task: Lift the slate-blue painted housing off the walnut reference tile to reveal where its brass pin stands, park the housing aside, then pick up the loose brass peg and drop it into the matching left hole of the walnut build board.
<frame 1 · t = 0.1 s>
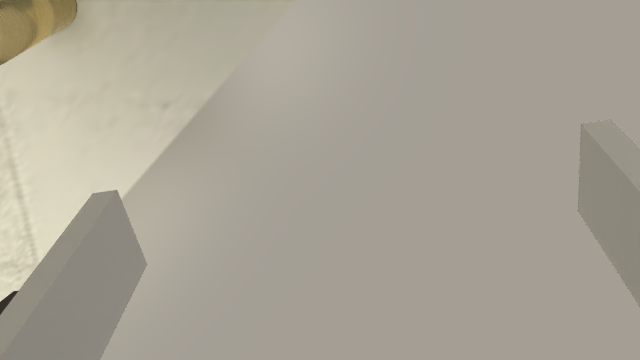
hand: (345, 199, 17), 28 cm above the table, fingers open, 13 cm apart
peg: (52, 2, 42), on the table
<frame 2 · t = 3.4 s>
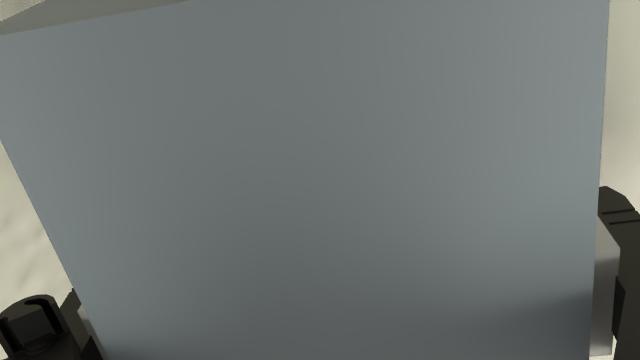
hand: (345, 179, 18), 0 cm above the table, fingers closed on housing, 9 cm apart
housing: (345, 173, 18), on the table, touching gripper
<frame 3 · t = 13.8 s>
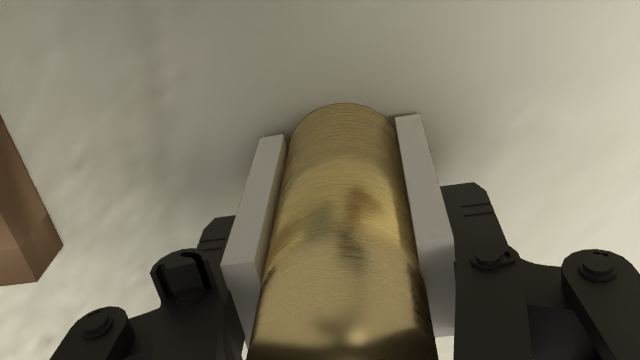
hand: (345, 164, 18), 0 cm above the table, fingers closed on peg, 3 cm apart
peg: (344, 155, 19), on the table, touching gripper
when the fingers open (3 cm above the table, at t = 18.8 s): peg stays where it is, resting in build board.
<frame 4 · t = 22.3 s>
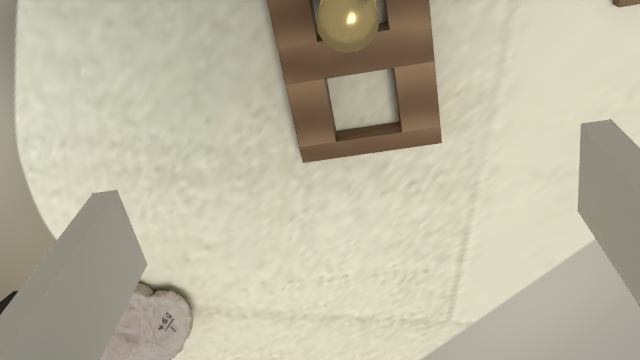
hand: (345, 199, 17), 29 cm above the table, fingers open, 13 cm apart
build board: (355, 47, 43), on the table
fossil: (143, 307, 58), on the table
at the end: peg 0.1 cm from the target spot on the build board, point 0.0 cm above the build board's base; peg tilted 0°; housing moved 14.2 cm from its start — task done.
